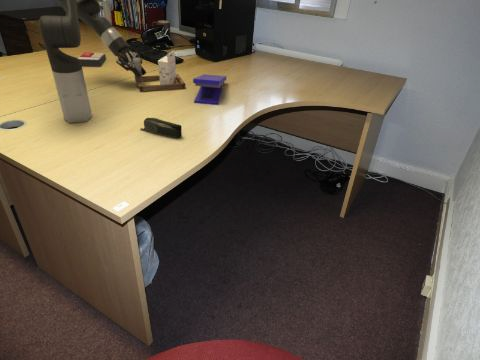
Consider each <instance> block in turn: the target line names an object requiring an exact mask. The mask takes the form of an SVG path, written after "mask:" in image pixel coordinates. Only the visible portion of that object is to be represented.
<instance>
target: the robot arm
mask: <svg viewBox="0 0 480 360" xmlns="http://www.w3.org/2000/svg"><path fill="white" fill-rule="evenodd" d="M57 1H58V3H59V4H60V5H61V7H62V8H63V10H64V12H65V15H41V16H40V18H39V21H38V28H39V31H40V35H41V39H42V41H43V42H42V43H43V45H44V48H45V51H46V54H47V58H48V62H49V65H50V68H51V72H52V76H53V80H54V83H55V89H56V91H57V96H58V100H59V103H60V107H61V112H62V115H63V118H64V120H65V121H66V122H68V123H69V124H72V123H80V122H81V123H82V122H83V123H84V122H88V121H89V120H90V119H92V117H93V113H92V108H91V103H90V99H89V98H90V97H89V95H88V89H87V85H86V80H85V74H84V71H83V70H84V69H83V67H82V64H81V61H80V60H79V59H78V58H79V57H76V56H72V55H70V54H67V53H65V52H63V50H61V49H75V48H78V47H80V45H81V41H82V40H81V39H82V38H81V37H82V36H81V29H80V28H81V27H80V21H79V20H81V22H83V23H84V24H86V25H88V26H89V27H90V28H91V29H92V30H93V31H95V32H96V34H97V35H98V36H99V38H100V39H101V40H102V42H103V43H104V45H106V47H107V48H108V50H110V51H111V53H112V54H113V55H114V56H115V57H117V59H116V61H115V62H116V64H118V65H119V66H120V67H122V68H123V69H124V70H125V71H127V72H129V71H130V72H132V73H133V75H134V74H135V75H134V77H135V76H136V77H138V78H139V77H140V76H141V73H140V72H139V71H138V70H137V69H136V68H135V66H134V65H133V58H135V57H138V58H140V60H141V69H142V76H146V74H147V71H146V69H145V68H144V67H143V65H142V64H143V60H142V58H141V56H140V54H139V51H135V52H134V51H132V50H131V49H130V45H129V43H128V42H127V41H126V40H125V39H124V37H123V36H122V35H121V34H120V32H118V30H117V29H116V28H115V27H114V26H113V25H112V23H111V22H110V21H109V20H108V19H107V18H106V16H100V17H95V16H97V15H98V14H100V12H101V4H100V2H99V1H98V0H78V1H77V0H57Z"/></svg>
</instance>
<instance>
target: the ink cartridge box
mask: <svg viewBox="0 0 480 360" xmlns="http://www.w3.org/2000/svg"><path fill="white" fill-rule="evenodd" d="M175 55H176V54H175V50H174V49H173V50H172V51H171V52H169V53H167V54H166V55H164V56H163V57H161V58H160V59H159V60H157V66H158V75H159V78H160V80H159V85H164V84H177V80H176V73H177V70H176V56H175Z"/></svg>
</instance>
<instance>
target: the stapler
mask: <svg viewBox="0 0 480 360" xmlns="http://www.w3.org/2000/svg"><path fill="white" fill-rule="evenodd" d="M225 81H227V75H215V74H214V75H213V74H207V73H206V74H202V75H201V74H200V75H199V76H196V77H194V78H193V79H192V84H194V86H195V87H199V90H198V92H197V94H196V96H195V98H194V100H193V103H194V104H201V105H203V104H204V105H213V106H218V105H219V103H220V100H221V96H222V91H223V89H224V85H225Z"/></svg>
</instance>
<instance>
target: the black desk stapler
mask: <svg viewBox="0 0 480 360" xmlns="http://www.w3.org/2000/svg"><path fill="white" fill-rule="evenodd" d="M143 127H144V128H143ZM143 127H140V129H139V130H140V131H143V132H144V131H145V132H149V133H151V134H152V133H154V134H156V135H159V136H163V137H166V138H172V139H177V140H178V139H181V138H182V136H183V133H182V129H183V128H182V125H181V124H178V123H174V122H170V121H166V120H163V119H160V118H157V117H146V118H145V119H144V120H143Z"/></svg>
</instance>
